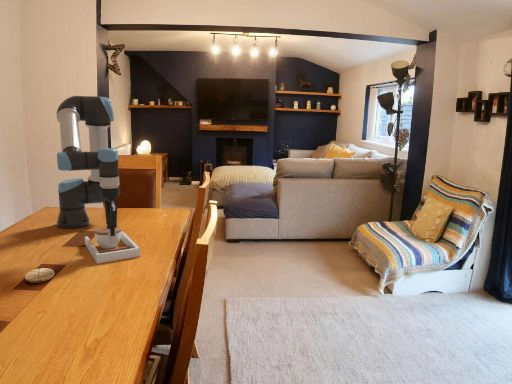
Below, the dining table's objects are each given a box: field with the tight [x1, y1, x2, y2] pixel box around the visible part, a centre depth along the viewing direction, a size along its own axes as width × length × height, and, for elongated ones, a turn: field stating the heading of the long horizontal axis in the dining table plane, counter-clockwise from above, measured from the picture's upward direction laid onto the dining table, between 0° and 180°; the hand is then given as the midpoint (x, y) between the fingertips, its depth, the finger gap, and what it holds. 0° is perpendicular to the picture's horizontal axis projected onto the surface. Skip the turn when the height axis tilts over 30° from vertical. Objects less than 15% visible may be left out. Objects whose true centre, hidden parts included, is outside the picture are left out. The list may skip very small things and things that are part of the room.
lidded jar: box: [93, 224, 122, 250], centre depth 168 cm, size 11×11×9 cm
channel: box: [84, 231, 141, 265], centre depth 165 cm, size 26×16×4 cm, turn 33°
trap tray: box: [97, 246, 132, 254], centre depth 159 cm, size 8×13×2 cm, turn 123°
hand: (112, 242), depth 163 cm, fingers closed
